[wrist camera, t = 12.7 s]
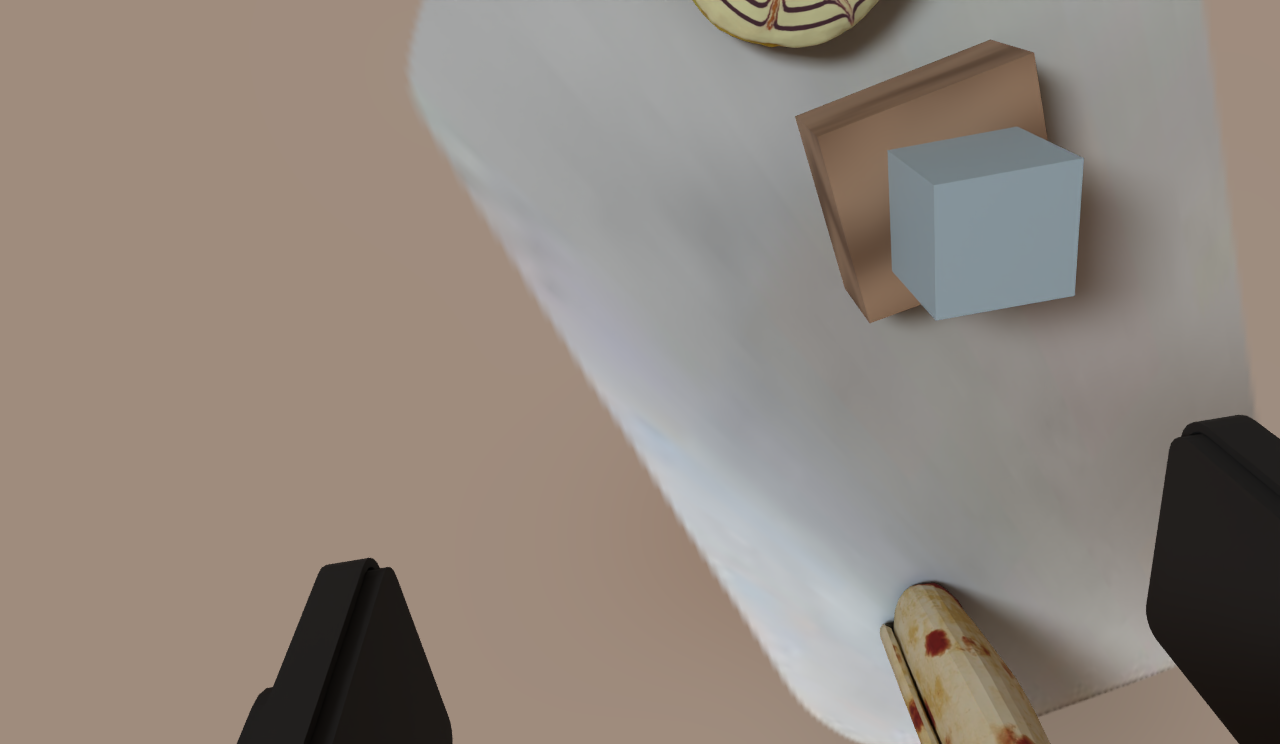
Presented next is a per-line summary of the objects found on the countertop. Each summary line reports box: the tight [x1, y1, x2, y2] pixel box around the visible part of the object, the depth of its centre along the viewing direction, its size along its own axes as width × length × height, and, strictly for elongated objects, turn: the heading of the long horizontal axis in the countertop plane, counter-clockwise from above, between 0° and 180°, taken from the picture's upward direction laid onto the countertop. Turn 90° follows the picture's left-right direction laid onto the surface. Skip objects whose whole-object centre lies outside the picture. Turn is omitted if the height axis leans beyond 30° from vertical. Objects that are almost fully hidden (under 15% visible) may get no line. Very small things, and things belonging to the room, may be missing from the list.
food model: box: [880, 583, 1050, 744], centre depth 51 cm, size 10×7×20 cm
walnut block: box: [795, 40, 1048, 323], centre depth 44 cm, size 10×10×5 cm
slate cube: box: [887, 127, 1084, 320], centre depth 39 cm, size 6×6×6 cm
